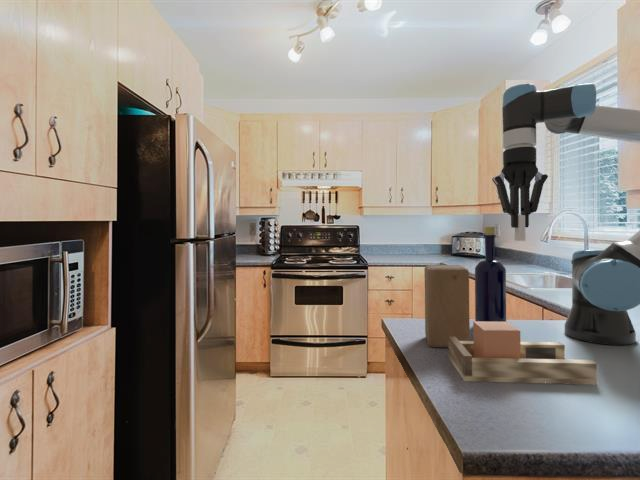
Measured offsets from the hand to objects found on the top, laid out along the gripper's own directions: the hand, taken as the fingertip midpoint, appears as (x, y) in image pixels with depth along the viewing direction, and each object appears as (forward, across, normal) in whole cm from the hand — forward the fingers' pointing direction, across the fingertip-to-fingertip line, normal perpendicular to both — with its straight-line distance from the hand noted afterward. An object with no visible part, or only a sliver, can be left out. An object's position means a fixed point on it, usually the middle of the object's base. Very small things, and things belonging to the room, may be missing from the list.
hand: (519, 240), depth 94 cm
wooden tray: (+26, +9, +20) cm, 34 cm away
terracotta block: (+25, +13, +19) cm, 34 cm away
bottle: (+27, +3, -13) cm, 30 cm away
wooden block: (+27, +19, +1) cm, 33 cm away
